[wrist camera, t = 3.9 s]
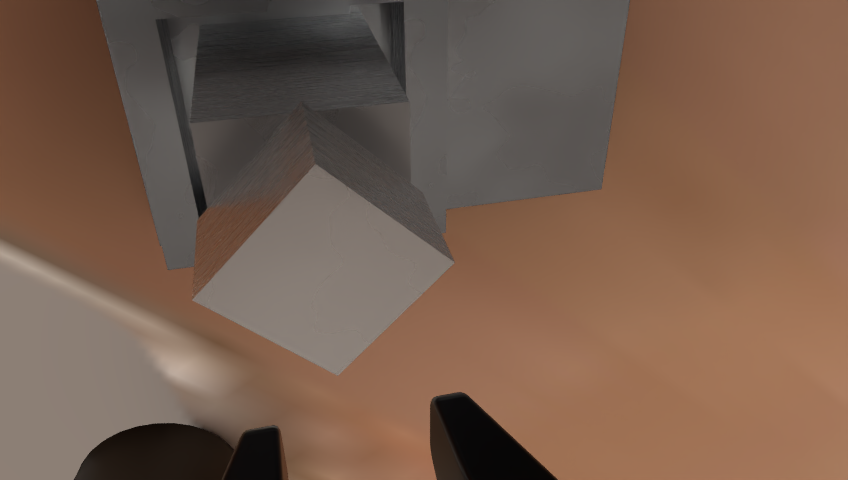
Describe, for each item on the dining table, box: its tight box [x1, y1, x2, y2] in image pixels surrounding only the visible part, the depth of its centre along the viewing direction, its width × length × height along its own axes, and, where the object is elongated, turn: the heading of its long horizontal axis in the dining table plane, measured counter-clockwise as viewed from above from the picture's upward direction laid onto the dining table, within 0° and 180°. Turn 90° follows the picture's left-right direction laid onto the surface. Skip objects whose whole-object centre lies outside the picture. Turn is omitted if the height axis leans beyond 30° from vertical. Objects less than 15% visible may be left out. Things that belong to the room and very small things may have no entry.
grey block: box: [190, 13, 455, 376], centre depth 15 cm, size 4×4×8 cm
